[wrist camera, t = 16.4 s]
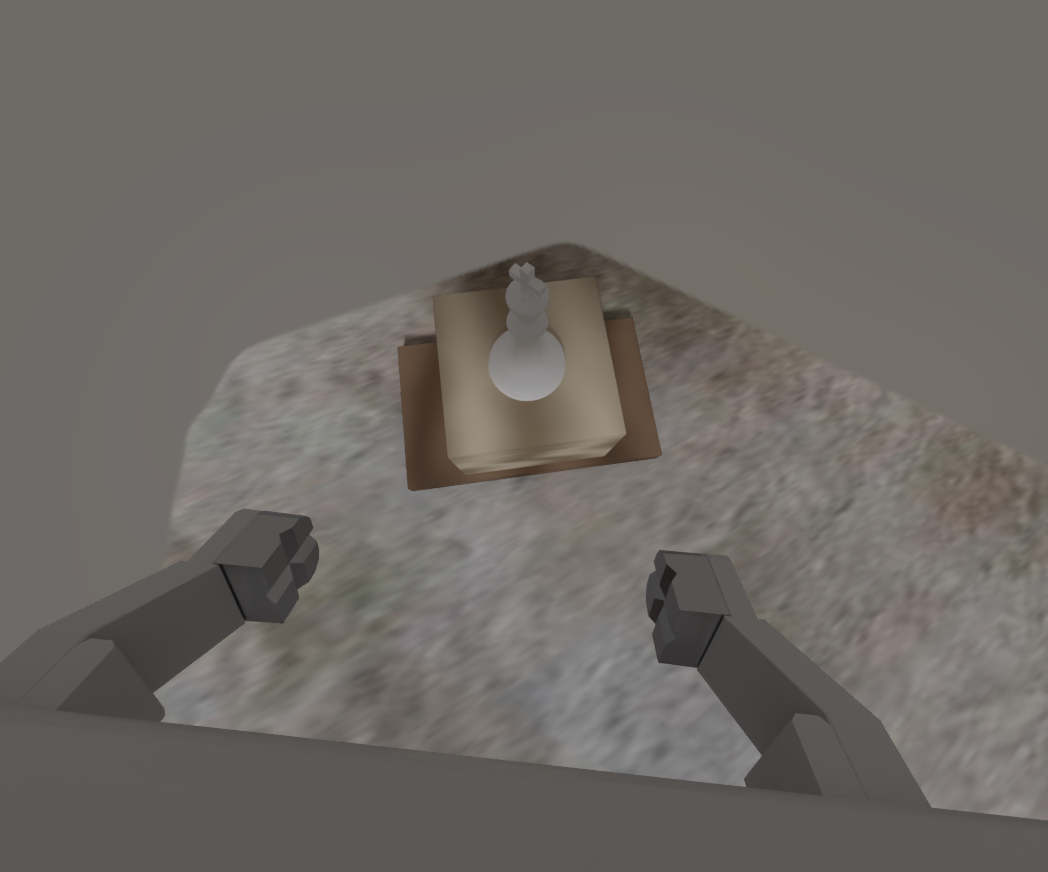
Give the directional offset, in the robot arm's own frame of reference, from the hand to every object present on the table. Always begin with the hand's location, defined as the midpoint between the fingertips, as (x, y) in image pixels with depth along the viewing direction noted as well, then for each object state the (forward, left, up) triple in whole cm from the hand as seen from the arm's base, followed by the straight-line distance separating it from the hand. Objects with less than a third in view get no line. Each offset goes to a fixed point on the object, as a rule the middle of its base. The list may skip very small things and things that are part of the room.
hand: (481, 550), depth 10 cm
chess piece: (-3, -11, -15) cm, 19 cm away
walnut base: (-3, -11, -24) cm, 26 cm away
